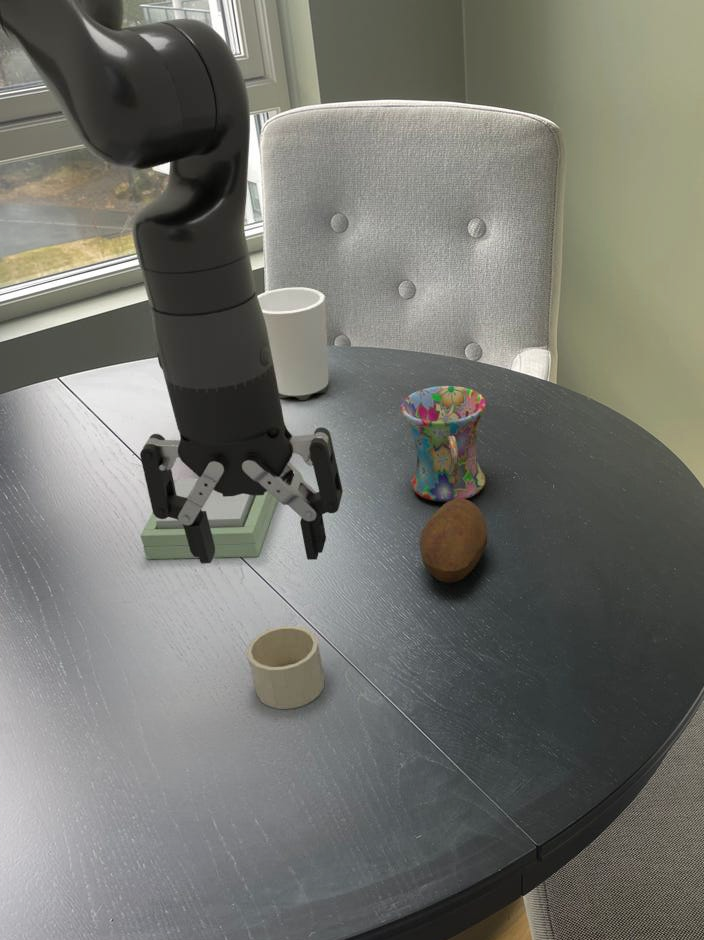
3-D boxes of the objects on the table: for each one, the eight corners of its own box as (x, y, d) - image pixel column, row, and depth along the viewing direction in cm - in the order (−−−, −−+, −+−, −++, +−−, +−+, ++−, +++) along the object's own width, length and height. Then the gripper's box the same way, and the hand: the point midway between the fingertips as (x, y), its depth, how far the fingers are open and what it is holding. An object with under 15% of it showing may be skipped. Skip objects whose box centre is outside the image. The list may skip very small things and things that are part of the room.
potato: (414, 600, 95) (409, 541, 91) (429, 537, 104) (424, 480, 100) (483, 601, 95) (480, 541, 90) (491, 538, 104) (489, 480, 99)
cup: (252, 391, 136) (235, 300, 128) (310, 370, 141) (296, 281, 133) (292, 412, 130) (276, 318, 122) (351, 389, 135) (339, 298, 127)
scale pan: (158, 531, 103) (155, 520, 102) (180, 489, 110) (177, 478, 109) (242, 529, 102) (240, 518, 101) (259, 487, 109) (256, 476, 108)
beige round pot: (250, 710, 84) (240, 670, 81) (263, 665, 88) (254, 626, 86) (319, 708, 84) (311, 668, 81) (328, 664, 88) (321, 624, 85)
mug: (404, 474, 115) (396, 390, 109) (481, 465, 116) (477, 381, 110) (417, 526, 106) (409, 438, 100) (500, 516, 107) (497, 428, 101)
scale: (146, 559, 103) (139, 535, 101) (175, 502, 112) (169, 479, 111) (258, 556, 103) (253, 532, 101) (278, 499, 112) (273, 476, 110)
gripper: (326, 337, 70) (354, 528, 80) (132, 345, 71) (184, 534, 81) (311, 380, 64) (343, 580, 74) (99, 388, 65) (160, 586, 75)
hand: (260, 556), depth 78 cm, fingers open, 8 cm apart
